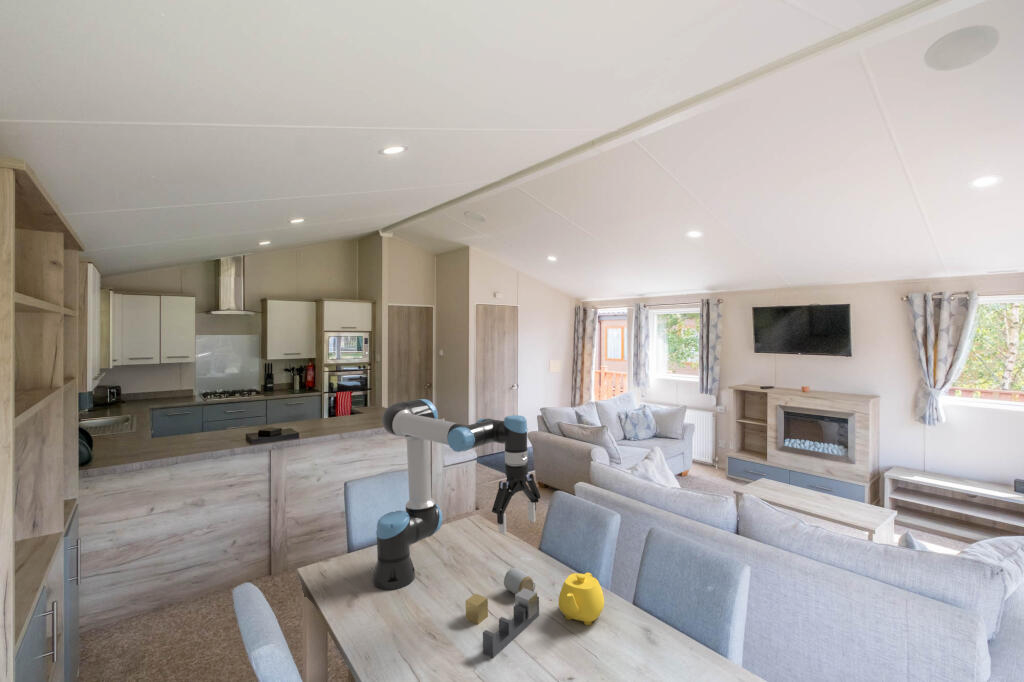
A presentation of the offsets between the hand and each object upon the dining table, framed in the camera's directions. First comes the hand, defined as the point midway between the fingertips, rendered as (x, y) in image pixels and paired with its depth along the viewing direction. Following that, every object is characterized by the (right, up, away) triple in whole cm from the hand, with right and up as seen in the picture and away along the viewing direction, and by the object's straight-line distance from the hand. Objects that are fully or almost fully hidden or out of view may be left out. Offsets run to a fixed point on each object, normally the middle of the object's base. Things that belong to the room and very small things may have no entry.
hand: (517, 527), depth 157 cm
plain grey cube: (+3, -24, -8) cm, 25 cm away
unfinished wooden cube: (-13, -27, -6) cm, 30 cm away
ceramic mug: (+1, -26, +9) cm, 28 cm away
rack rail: (-2, -26, -14) cm, 30 cm away
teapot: (+20, -26, -7) cm, 33 cm away
